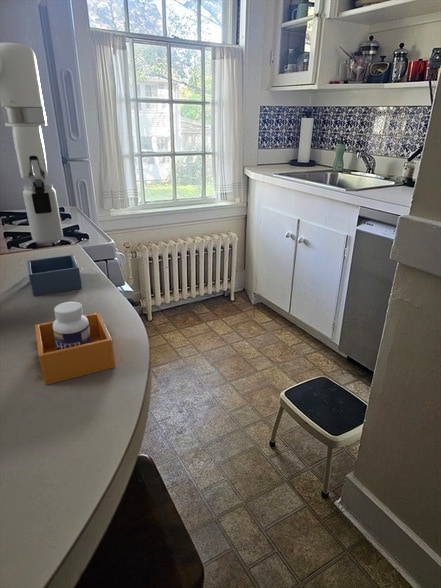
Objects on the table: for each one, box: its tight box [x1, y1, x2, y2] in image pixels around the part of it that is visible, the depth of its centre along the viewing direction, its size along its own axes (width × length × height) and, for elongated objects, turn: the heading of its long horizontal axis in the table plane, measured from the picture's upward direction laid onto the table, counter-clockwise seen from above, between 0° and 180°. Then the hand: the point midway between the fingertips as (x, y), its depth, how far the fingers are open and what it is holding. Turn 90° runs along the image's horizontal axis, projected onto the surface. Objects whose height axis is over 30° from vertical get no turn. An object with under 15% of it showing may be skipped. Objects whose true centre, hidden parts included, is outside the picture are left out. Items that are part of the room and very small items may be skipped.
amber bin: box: [34, 312, 116, 386], centre depth 62 cm, size 10×10×5 cm
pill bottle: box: [53, 301, 91, 350], centre depth 61 cm, size 5×5×9 cm
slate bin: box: [26, 254, 83, 297], centre depth 90 cm, size 10×10×5 cm
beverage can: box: [22, 183, 64, 245], centre depth 84 cm, size 6×6×12 cm
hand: (42, 208), depth 84 cm, fingers closed on beverage can, 6 cm apart
